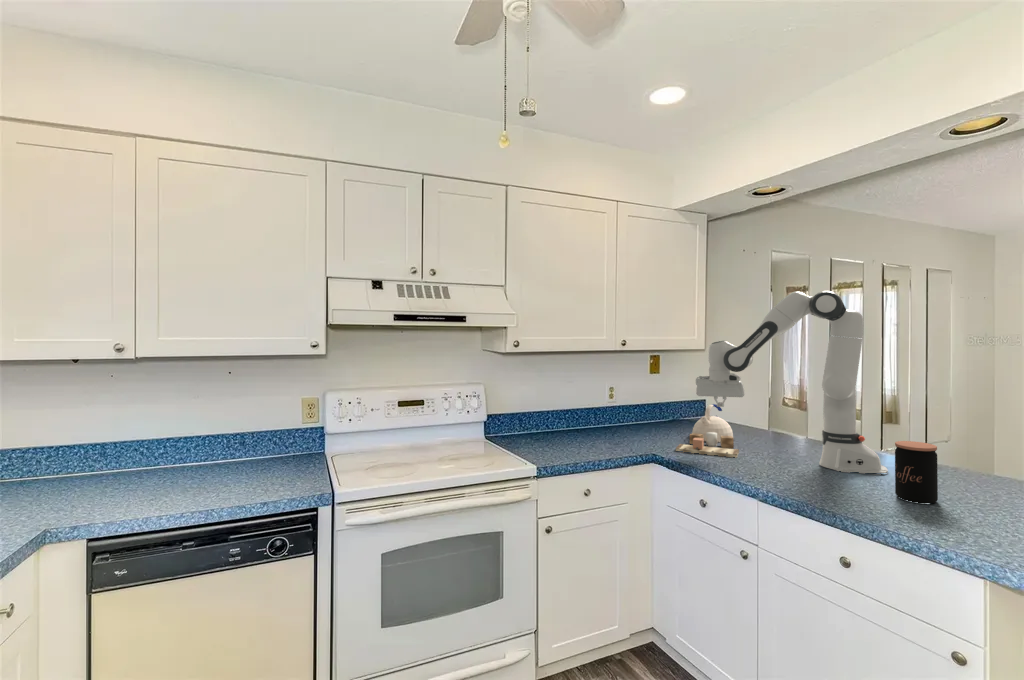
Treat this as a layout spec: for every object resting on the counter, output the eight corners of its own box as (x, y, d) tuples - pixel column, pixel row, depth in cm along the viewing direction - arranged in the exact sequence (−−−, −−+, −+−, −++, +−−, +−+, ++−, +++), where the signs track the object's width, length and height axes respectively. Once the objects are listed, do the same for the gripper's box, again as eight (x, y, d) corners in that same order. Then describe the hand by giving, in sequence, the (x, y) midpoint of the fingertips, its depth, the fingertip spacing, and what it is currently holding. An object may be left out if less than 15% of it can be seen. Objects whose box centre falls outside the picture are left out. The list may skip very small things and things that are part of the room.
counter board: (738, 452, 221) (738, 449, 221) (736, 457, 213) (736, 454, 213) (680, 447, 234) (679, 443, 234) (675, 451, 226) (675, 448, 226)
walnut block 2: (731, 446, 235) (731, 436, 235) (733, 448, 230) (733, 438, 230) (720, 445, 236) (720, 435, 236) (722, 448, 231) (722, 437, 231)
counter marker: (703, 446, 227) (703, 438, 227) (701, 450, 220) (701, 441, 220) (694, 446, 229) (694, 437, 229) (692, 449, 222) (691, 440, 222)
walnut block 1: (703, 444, 240) (703, 434, 240) (699, 446, 237) (699, 435, 236) (693, 442, 244) (693, 433, 244) (689, 444, 240) (689, 434, 240)
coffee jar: (886, 494, 162) (886, 441, 162) (916, 493, 163) (916, 440, 163) (915, 506, 151) (915, 448, 151) (947, 504, 152) (946, 447, 152)
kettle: (684, 438, 254) (683, 404, 254) (703, 432, 268) (702, 400, 267) (722, 444, 239) (721, 408, 239) (740, 438, 252) (740, 403, 252)
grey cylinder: (718, 444, 238) (717, 432, 238) (716, 446, 234) (716, 434, 234) (707, 443, 241) (707, 431, 241) (705, 445, 236) (705, 433, 236)
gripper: (694, 376, 223) (695, 406, 223) (743, 377, 213) (744, 408, 213) (696, 375, 228) (697, 404, 228) (744, 376, 218) (745, 406, 218)
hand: (720, 406), depth 221 cm, fingers closed
